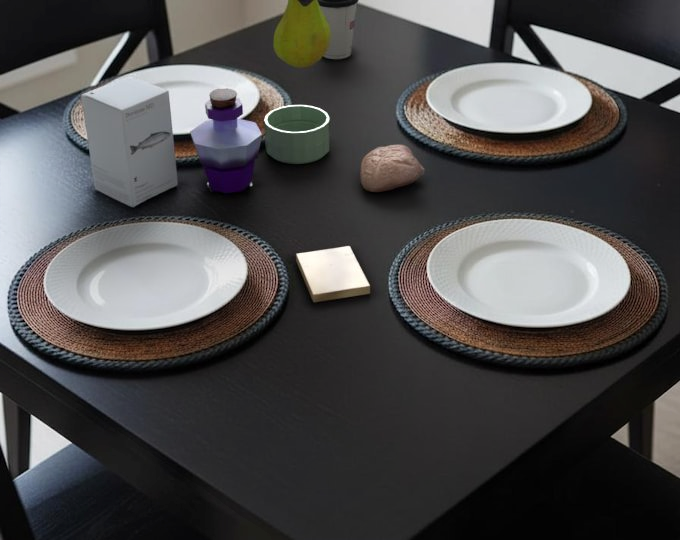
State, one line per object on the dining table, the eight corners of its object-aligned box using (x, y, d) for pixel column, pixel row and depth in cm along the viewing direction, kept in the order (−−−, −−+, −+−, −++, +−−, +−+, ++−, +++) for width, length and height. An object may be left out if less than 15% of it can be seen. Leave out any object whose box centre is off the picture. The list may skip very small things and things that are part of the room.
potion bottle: (238, 160, 132) (232, 71, 126) (279, 186, 127) (275, 94, 120) (180, 182, 128) (170, 90, 121) (220, 209, 122) (212, 115, 115)
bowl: (273, 169, 130) (271, 136, 128) (260, 140, 137) (258, 108, 135) (336, 160, 132) (336, 128, 130) (321, 132, 139) (320, 101, 136)
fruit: (311, 50, 120) (310, -55, 114) (340, 67, 116) (341, -41, 109) (263, 61, 117) (259, -46, 111) (291, 79, 113) (288, -31, 106)
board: (313, 302, 106) (313, 294, 106) (296, 261, 113) (295, 253, 112) (370, 293, 107) (370, 285, 107) (349, 253, 114) (349, 245, 113)
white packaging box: (133, 209, 122) (119, 110, 115) (93, 189, 126) (78, 92, 119) (180, 186, 127) (170, 89, 120) (140, 167, 131) (128, 73, 124)
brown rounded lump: (413, 161, 132) (353, 151, 129) (431, 132, 127) (369, 122, 124) (418, 211, 128) (356, 202, 126) (437, 184, 123) (372, 174, 121)
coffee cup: (315, 63, 159) (313, -2, 153) (312, 46, 164) (310, -17, 159) (361, 61, 159) (361, -4, 154) (356, 44, 165) (356, -19, 159)
